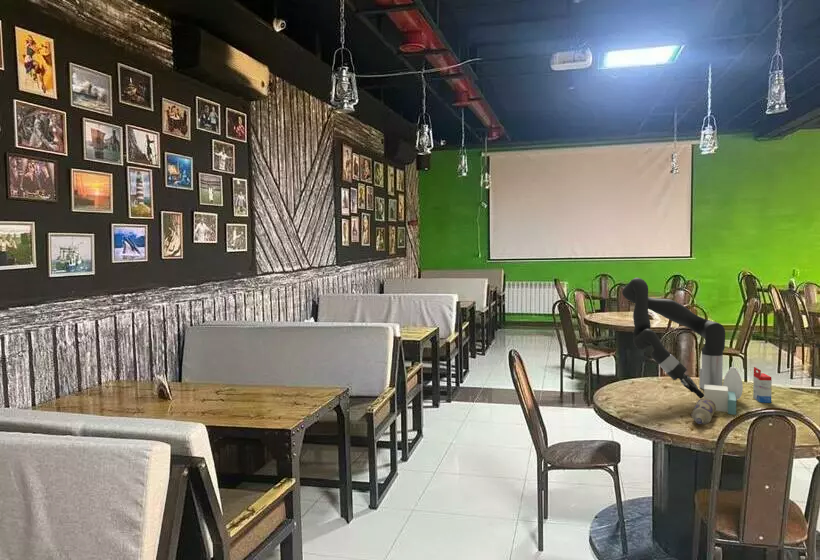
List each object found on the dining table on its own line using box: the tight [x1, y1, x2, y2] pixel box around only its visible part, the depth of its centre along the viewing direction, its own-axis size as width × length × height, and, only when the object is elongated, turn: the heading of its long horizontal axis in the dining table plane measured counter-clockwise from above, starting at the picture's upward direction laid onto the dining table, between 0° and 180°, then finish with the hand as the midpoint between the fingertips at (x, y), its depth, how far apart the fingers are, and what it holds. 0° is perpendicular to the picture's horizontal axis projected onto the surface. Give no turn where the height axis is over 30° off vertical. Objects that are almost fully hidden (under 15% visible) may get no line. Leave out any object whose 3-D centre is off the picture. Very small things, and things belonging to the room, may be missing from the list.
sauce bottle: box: [722, 361, 744, 402], centre depth 264 cm, size 8×8×18 cm
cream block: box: [703, 384, 728, 413], centre depth 254 cm, size 9×9×9 cm
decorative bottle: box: [690, 397, 716, 425], centre depth 236 cm, size 26×8×7 cm, turn 146°
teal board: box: [727, 391, 737, 416], centre depth 251 cm, size 3×16×6 cm, turn 153°
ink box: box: [752, 366, 773, 404], centre depth 265 cm, size 8×5×15 cm, turn 168°
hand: (702, 397), depth 256 cm, fingers closed
